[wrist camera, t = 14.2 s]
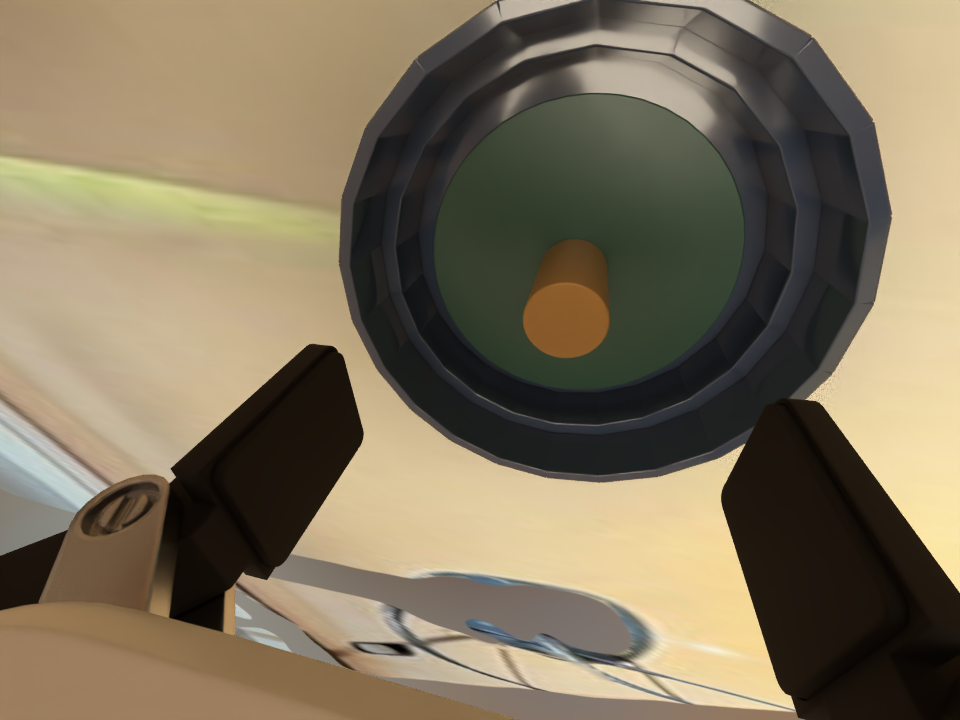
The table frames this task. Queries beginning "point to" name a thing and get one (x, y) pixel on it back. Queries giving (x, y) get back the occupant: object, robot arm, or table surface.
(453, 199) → the tin lid
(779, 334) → the bowl
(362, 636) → the table surface
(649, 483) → the table surface
